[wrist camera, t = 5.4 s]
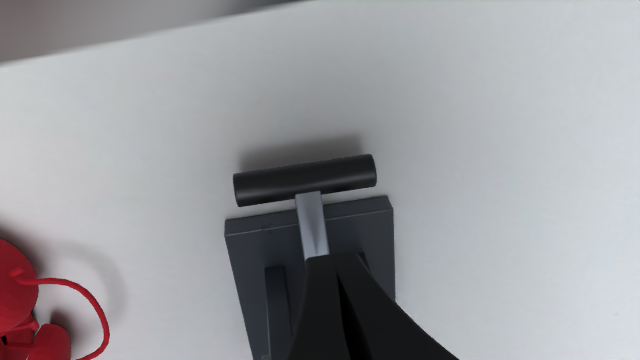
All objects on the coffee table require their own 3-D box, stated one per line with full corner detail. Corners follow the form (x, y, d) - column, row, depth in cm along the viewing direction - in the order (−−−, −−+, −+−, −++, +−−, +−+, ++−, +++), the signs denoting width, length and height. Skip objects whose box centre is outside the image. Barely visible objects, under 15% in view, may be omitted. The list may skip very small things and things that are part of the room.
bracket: (224, 220, 25) (219, 334, 18) (387, 195, 25) (436, 298, 19) (254, 349, 29) (258, 476, 23) (391, 325, 30) (431, 443, 24)
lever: (235, 173, 23) (230, 174, 21) (366, 154, 24) (376, 153, 21) (269, 391, 24) (268, 417, 21) (397, 368, 24) (409, 391, 22)
